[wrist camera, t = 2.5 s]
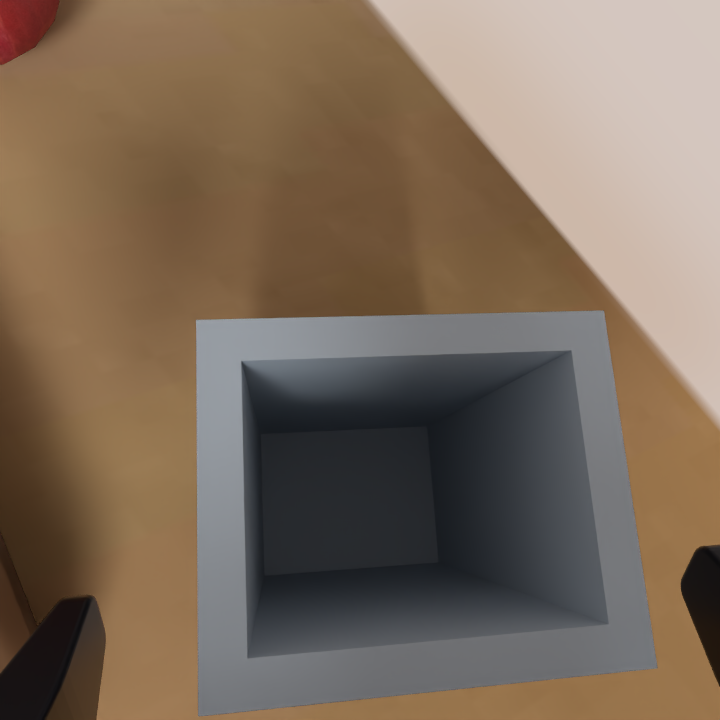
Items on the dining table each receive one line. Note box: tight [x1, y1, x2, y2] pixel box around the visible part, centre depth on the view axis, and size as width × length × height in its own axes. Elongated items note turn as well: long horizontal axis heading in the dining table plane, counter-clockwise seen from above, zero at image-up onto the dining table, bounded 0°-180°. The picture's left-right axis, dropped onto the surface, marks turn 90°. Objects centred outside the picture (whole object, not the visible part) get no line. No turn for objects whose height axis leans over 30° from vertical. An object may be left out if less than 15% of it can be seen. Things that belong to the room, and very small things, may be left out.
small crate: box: [196, 311, 657, 716], centre depth 13 cm, size 5×6×10 cm
